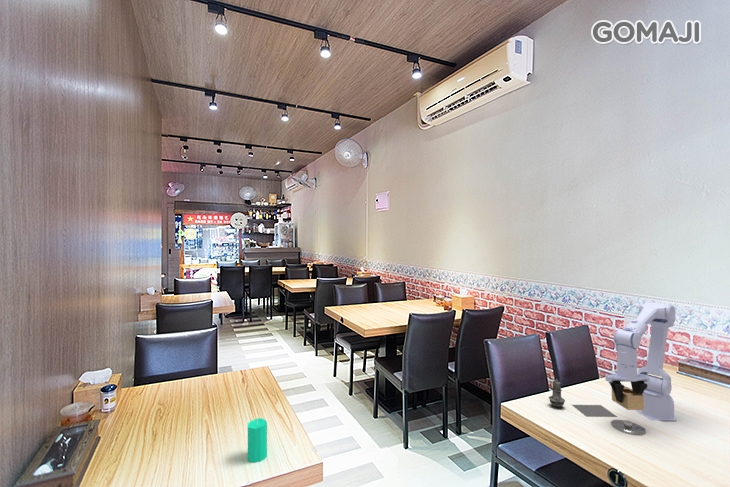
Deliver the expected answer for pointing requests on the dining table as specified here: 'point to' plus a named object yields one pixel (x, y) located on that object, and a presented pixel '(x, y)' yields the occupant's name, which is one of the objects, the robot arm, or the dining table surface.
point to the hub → (628, 427)
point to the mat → (594, 411)
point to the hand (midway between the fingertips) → (627, 401)
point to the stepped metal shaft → (556, 396)
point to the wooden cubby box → (630, 399)
